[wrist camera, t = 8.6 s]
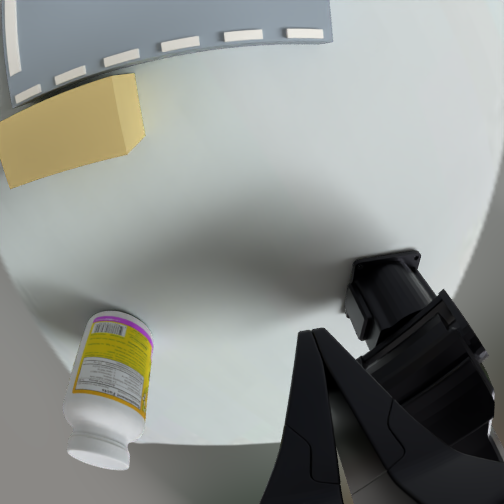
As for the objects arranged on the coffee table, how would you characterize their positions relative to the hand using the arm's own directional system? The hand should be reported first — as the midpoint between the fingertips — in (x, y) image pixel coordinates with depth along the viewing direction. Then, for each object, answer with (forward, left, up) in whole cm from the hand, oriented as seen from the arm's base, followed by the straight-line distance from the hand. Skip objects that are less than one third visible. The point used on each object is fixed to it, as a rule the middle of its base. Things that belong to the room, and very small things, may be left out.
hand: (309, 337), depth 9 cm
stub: (+11, -6, -12) cm, 17 cm away
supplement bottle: (+14, +12, -12) cm, 22 cm away
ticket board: (+5, -14, -12) cm, 19 cm away
